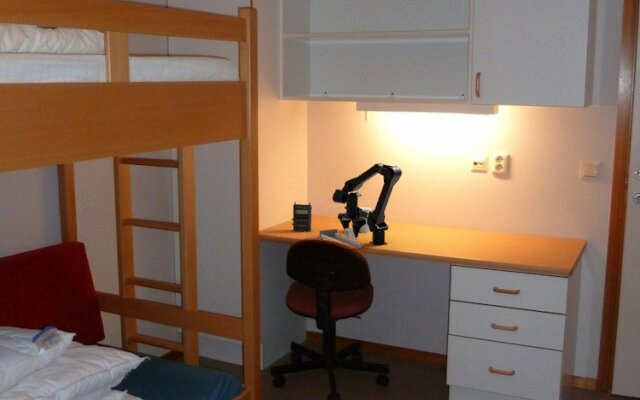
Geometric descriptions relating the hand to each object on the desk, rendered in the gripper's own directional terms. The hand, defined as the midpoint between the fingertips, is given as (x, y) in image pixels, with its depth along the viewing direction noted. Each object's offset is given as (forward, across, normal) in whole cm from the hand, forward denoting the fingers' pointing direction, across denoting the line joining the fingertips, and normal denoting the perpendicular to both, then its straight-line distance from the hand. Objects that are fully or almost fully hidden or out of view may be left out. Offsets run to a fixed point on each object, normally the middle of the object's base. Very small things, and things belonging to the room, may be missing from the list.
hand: (351, 235), depth 357 cm
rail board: (+2, -6, +10) cm, 12 cm away
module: (+2, 0, 0) cm, 2 cm away
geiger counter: (+2, +27, +14) cm, 31 cm away
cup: (+2, +13, -14) cm, 20 cm away
